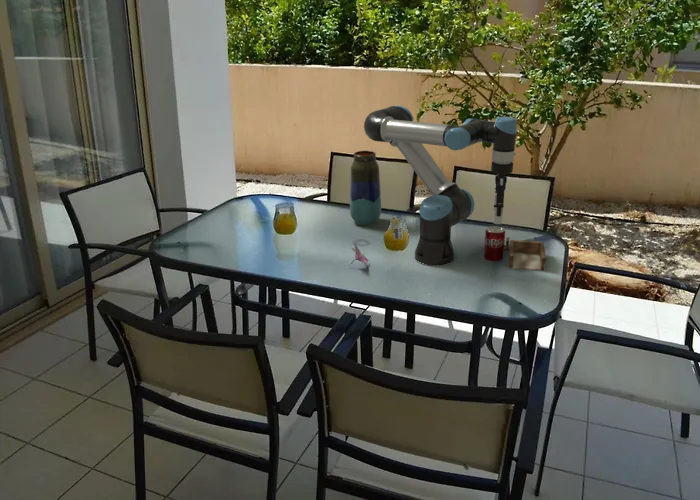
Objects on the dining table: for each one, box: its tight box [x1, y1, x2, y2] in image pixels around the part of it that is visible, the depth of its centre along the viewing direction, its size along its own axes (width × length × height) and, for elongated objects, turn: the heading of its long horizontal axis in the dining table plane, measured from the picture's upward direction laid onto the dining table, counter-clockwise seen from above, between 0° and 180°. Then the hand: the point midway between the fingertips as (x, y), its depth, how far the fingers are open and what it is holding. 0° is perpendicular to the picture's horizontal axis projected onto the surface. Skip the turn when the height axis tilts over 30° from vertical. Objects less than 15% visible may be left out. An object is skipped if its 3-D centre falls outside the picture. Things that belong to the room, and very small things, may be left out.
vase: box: [349, 150, 382, 226], centre depth 272 cm, size 14×14×31 cm
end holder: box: [508, 239, 547, 272], centre depth 234 cm, size 12×15×5 cm
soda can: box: [483, 225, 506, 263], centre depth 236 cm, size 7×7×12 cm
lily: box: [350, 239, 369, 267], centre depth 233 cm, size 12×12×10 cm
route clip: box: [504, 236, 510, 251], centre depth 247 cm, size 5×4×4 cm
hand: (497, 217), depth 232 cm, fingers open, 13 cm apart
